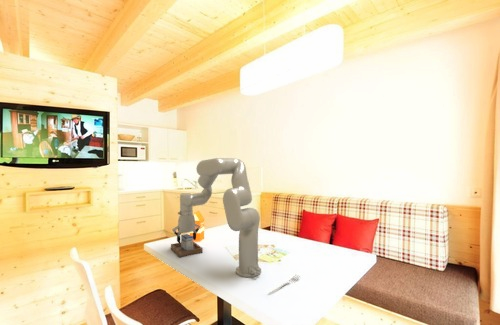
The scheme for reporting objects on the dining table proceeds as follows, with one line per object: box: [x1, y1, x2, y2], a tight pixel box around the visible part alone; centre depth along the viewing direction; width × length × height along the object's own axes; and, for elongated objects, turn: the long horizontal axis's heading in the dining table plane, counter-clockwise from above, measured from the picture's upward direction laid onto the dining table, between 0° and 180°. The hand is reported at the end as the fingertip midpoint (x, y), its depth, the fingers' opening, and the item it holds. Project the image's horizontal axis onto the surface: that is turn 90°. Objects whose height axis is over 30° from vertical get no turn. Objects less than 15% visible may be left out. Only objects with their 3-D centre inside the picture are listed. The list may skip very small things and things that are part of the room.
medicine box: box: [180, 233, 193, 251], centre depth 157 cm, size 8×4×9 cm, turn 41°
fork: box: [267, 274, 301, 296], centre depth 110 cm, size 3×24×2 cm, turn 135°
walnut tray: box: [170, 241, 204, 258], centre depth 157 cm, size 18×14×3 cm
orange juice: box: [189, 210, 205, 243], centre depth 181 cm, size 8×9×20 cm
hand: (186, 240), depth 157 cm, fingers open, 9 cm apart
